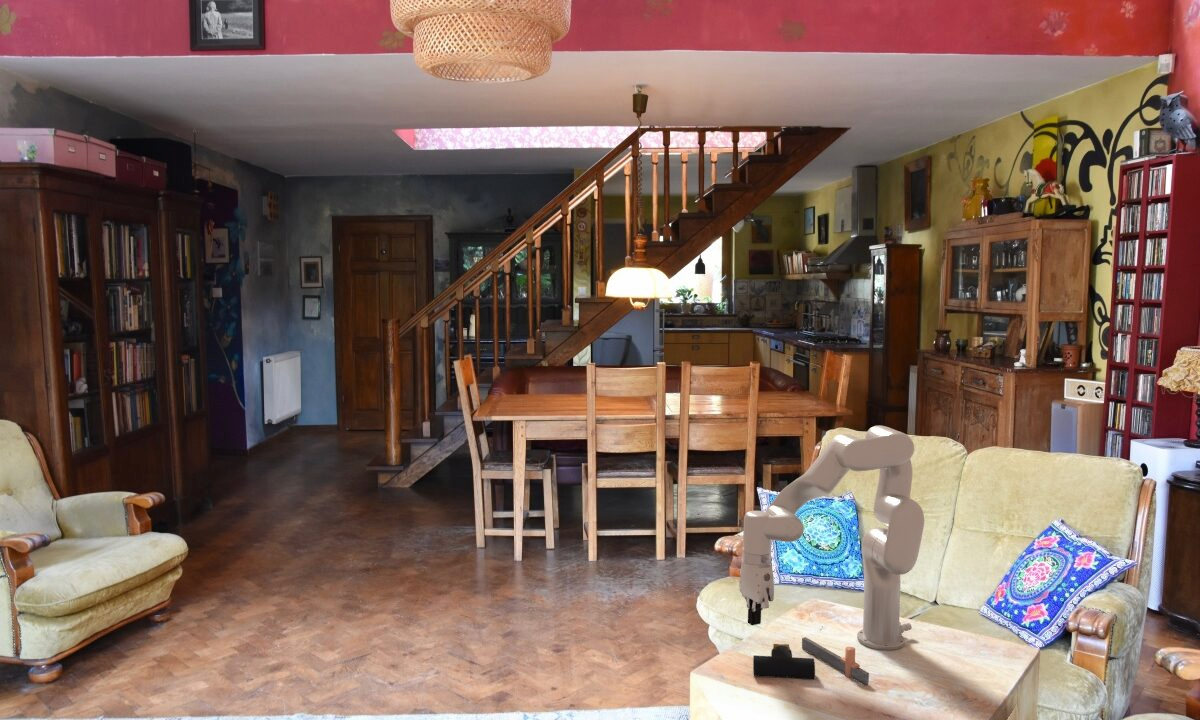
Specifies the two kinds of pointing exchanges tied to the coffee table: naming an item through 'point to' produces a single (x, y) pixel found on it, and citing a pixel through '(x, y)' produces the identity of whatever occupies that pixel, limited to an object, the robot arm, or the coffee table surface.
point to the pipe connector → (783, 664)
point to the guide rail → (838, 660)
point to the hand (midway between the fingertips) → (754, 623)
